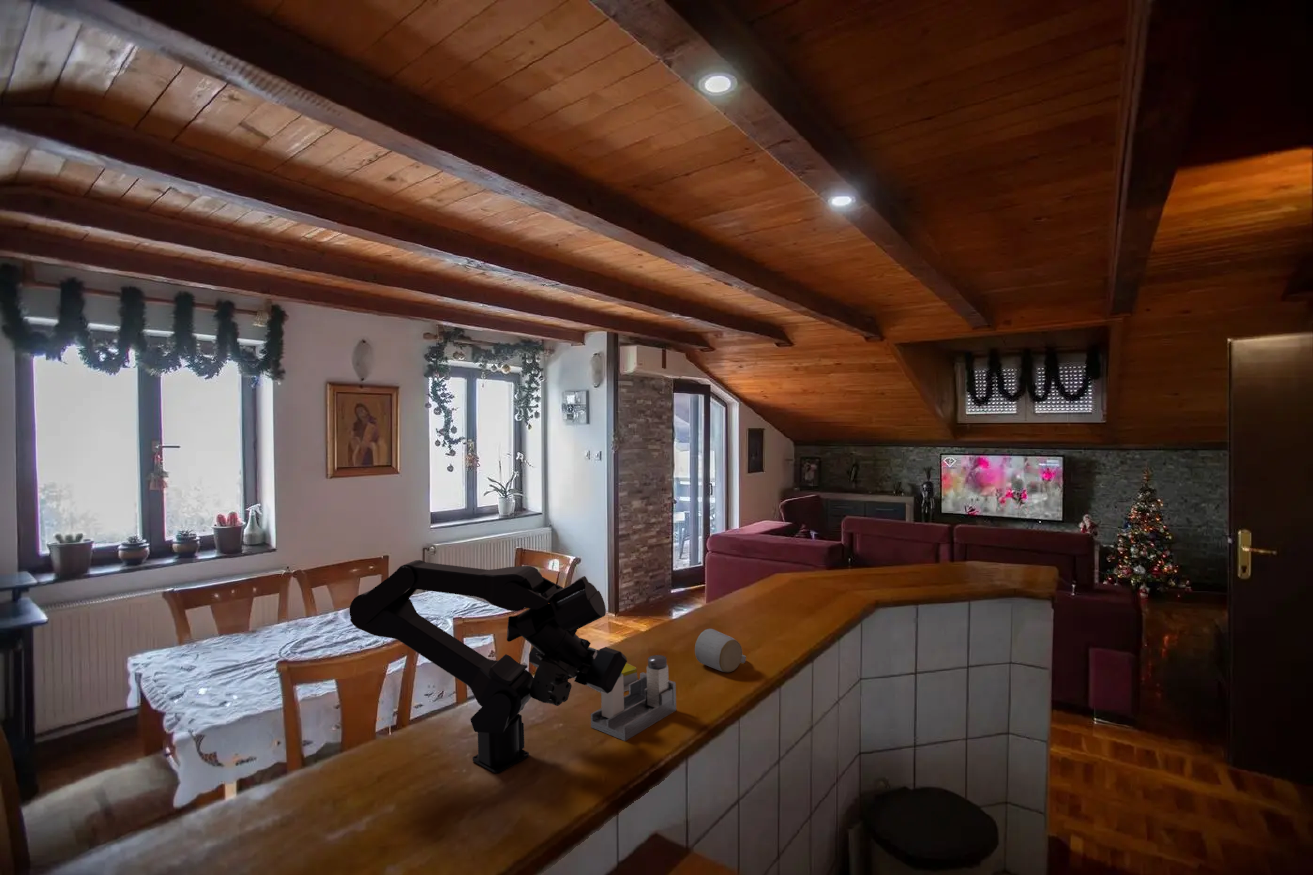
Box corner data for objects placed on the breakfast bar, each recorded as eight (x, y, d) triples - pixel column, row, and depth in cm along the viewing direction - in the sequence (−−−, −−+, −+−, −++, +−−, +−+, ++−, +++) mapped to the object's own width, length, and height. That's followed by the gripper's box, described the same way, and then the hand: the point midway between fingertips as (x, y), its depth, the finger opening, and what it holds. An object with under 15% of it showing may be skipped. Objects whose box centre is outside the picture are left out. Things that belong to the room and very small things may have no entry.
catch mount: (625, 741, 102) (623, 681, 102) (591, 727, 107) (589, 670, 107) (676, 710, 113) (674, 656, 113) (643, 699, 118) (641, 647, 118)
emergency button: (603, 646, 137) (645, 665, 125) (604, 666, 137) (646, 686, 125) (567, 656, 131) (608, 677, 119) (568, 677, 131) (608, 699, 119)
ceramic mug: (721, 678, 127) (721, 641, 127) (694, 667, 133) (693, 632, 133) (755, 665, 134) (755, 630, 134) (727, 656, 140) (727, 622, 140)
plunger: (613, 721, 106) (612, 672, 106) (599, 715, 108) (598, 668, 108) (626, 713, 109) (625, 666, 109) (612, 708, 111) (611, 662, 111)
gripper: (486, 669, 99) (541, 712, 108) (563, 700, 87) (618, 746, 96) (525, 609, 105) (574, 655, 114) (602, 630, 93) (650, 680, 102)
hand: (601, 683), depth 106 cm, fingers closed
